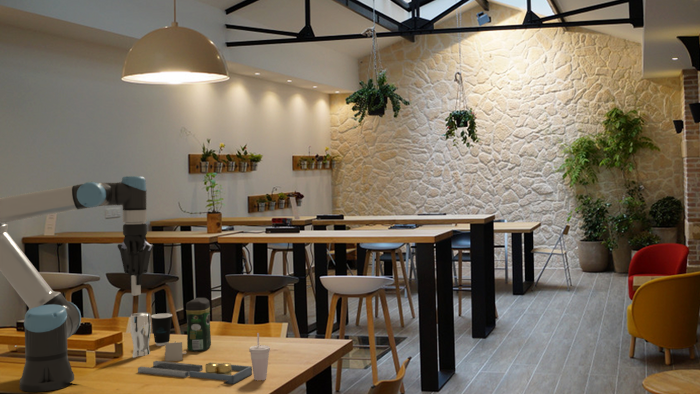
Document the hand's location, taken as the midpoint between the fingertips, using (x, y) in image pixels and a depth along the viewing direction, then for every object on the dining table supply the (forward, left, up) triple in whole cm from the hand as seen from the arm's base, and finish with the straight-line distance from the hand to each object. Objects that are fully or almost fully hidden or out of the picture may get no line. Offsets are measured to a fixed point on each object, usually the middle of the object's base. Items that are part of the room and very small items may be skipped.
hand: (136, 294), depth 219 cm
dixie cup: (+31, +14, -25) cm, 42 cm away
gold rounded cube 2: (-1, -34, -24) cm, 42 cm away
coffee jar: (+29, -4, -25) cm, 38 cm away
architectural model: (+10, -7, -25) cm, 28 cm away
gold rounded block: (-2, -30, -24) cm, 39 cm away
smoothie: (+2, -45, -25) cm, 51 cm away
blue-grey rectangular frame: (0, -32, -24) cm, 40 cm away
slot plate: (-2, -15, -24) cm, 28 cm away
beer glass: (+13, +9, -25) cm, 29 cm away
